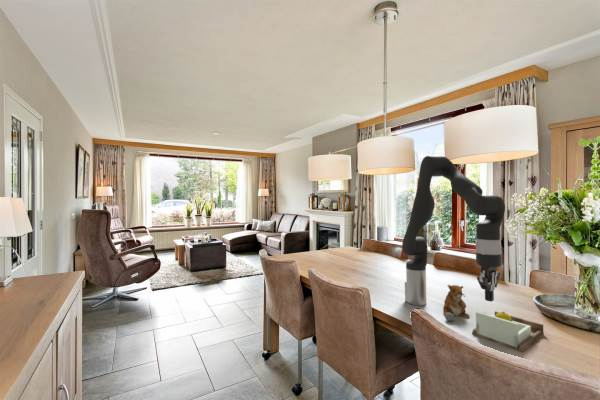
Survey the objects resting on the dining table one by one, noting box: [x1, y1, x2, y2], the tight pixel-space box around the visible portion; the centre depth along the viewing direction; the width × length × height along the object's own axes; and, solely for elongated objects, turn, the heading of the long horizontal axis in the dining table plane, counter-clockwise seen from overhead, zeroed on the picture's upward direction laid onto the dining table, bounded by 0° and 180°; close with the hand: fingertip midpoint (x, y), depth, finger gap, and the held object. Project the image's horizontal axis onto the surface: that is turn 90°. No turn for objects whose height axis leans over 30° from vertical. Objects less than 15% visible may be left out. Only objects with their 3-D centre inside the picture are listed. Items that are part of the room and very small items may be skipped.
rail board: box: [471, 311, 545, 353], centre depth 107 cm, size 16×21×4 cm
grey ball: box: [444, 313, 455, 322], centre depth 120 cm, size 4×4×4 cm
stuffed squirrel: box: [442, 284, 470, 319], centre depth 129 cm, size 10×14×13 cm
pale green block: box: [475, 311, 531, 348], centre depth 105 cm, size 13×13×8 cm
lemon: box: [495, 311, 512, 322], centre depth 105 cm, size 6×6×8 cm
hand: (489, 300), depth 99 cm, fingers closed
